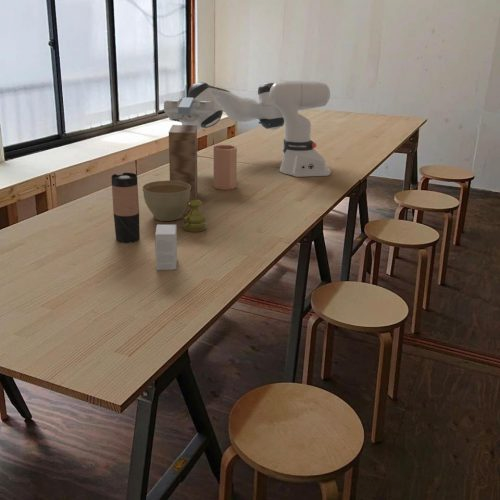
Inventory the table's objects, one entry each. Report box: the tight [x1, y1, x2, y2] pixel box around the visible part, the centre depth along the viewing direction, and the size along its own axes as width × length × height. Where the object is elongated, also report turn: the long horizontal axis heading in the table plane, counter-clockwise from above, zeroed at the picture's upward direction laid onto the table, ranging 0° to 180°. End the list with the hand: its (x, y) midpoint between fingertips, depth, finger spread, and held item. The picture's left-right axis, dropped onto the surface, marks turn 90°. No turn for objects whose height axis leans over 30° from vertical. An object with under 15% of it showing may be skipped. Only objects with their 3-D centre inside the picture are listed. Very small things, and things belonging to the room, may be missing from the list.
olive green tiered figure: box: [182, 198, 207, 233], centre depth 190 cm, size 7×7×10 cm
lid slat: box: [178, 96, 194, 114], centre depth 222 cm, size 24×4×2 cm, turn 1°
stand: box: [168, 124, 198, 200], centre depth 217 cm, size 9×14×26 cm, turn 1°
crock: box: [213, 144, 238, 191], centre depth 234 cm, size 9×9×16 cm
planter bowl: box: [141, 180, 191, 222], centre depth 199 cm, size 16×16×11 cm
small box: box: [154, 224, 178, 271], centre depth 163 cm, size 8×6×10 cm
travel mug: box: [111, 172, 141, 244], centre depth 178 cm, size 8×8×20 cm
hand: (187, 100), depth 231 cm, fingers closed on lid slat, 4 cm apart
